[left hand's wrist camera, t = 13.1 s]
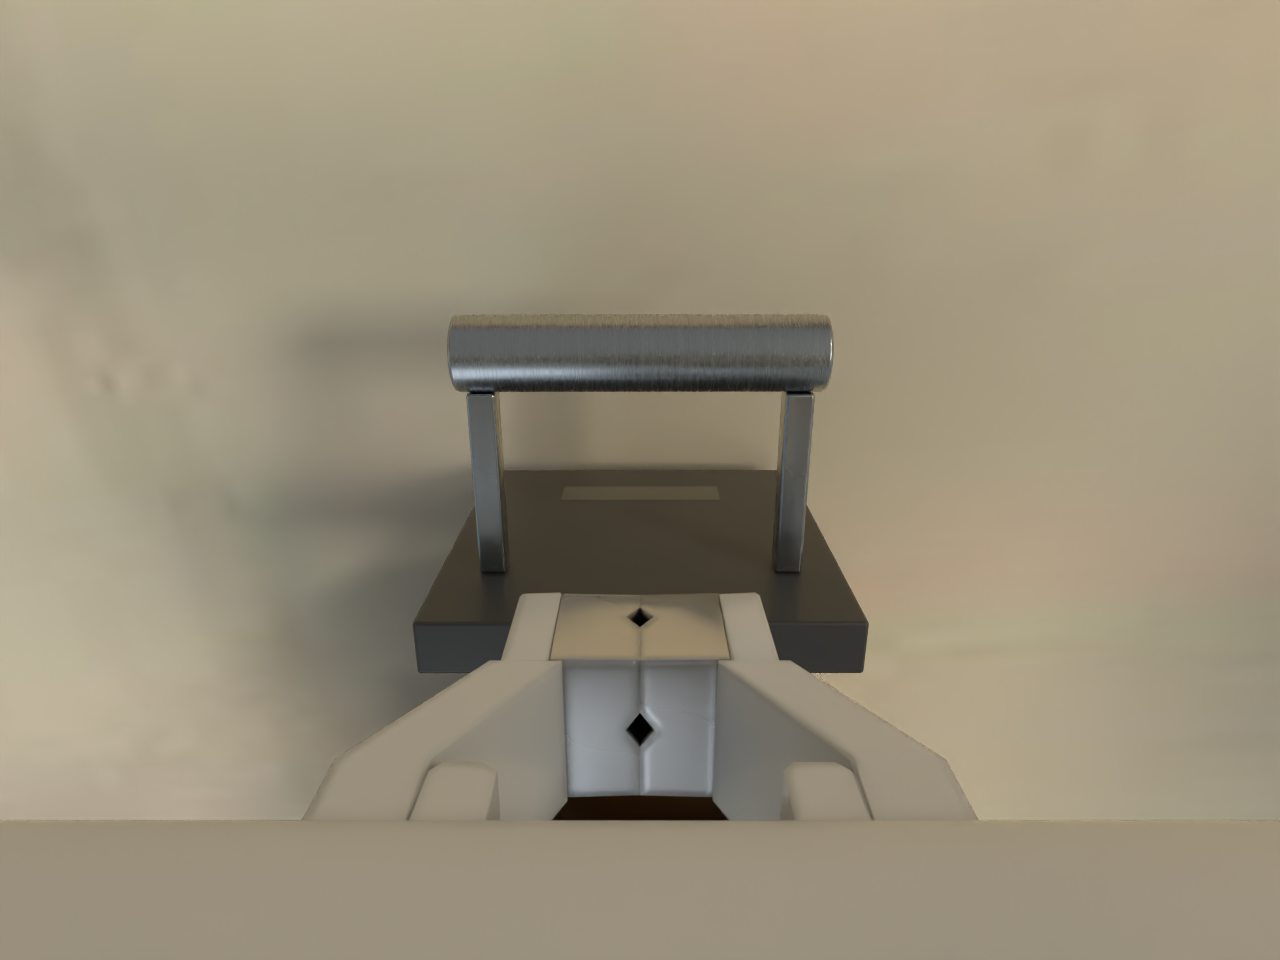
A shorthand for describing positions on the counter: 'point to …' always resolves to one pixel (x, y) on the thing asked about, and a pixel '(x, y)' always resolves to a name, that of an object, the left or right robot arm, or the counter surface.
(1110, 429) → the counter surface
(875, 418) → the counter surface
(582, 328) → the drawer
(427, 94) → the counter surface
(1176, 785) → the counter surface
